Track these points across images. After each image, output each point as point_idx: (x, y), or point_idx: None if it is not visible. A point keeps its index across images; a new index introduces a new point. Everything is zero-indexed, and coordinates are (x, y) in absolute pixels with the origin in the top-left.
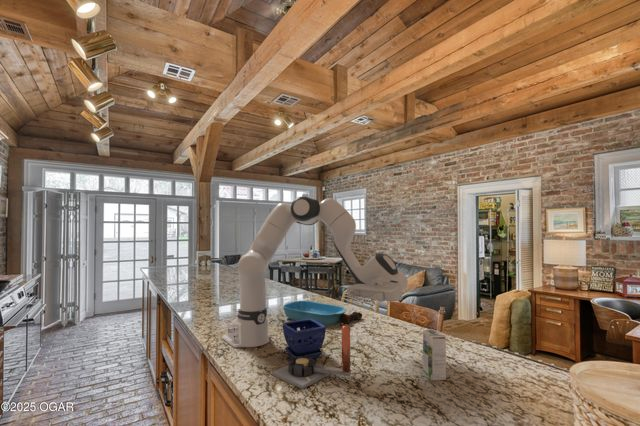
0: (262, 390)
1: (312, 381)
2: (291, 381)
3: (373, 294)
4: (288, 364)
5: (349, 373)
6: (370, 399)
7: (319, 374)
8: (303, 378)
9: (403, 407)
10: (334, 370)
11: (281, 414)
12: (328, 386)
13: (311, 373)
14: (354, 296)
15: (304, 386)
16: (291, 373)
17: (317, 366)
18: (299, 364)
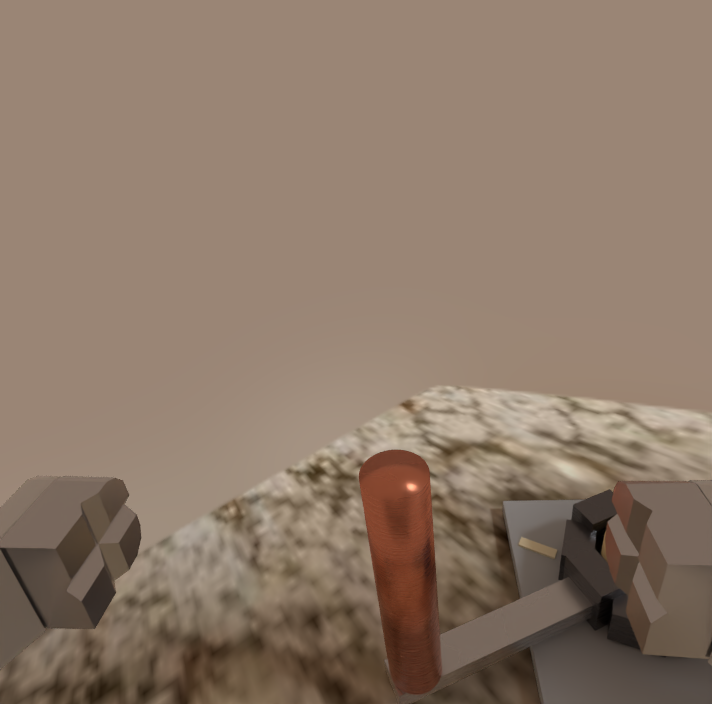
0: (587, 433)
1: (512, 554)
2: (569, 501)
3: (48, 535)
4: None
5: (385, 662)
6: (235, 616)
7: None
8: (557, 540)
9: (93, 651)
10: (465, 623)
11: (429, 408)
12: (443, 588)
13: (559, 572)
14: (645, 646)
15: (504, 515)
16: None
17: (570, 600)
18: (604, 511)
